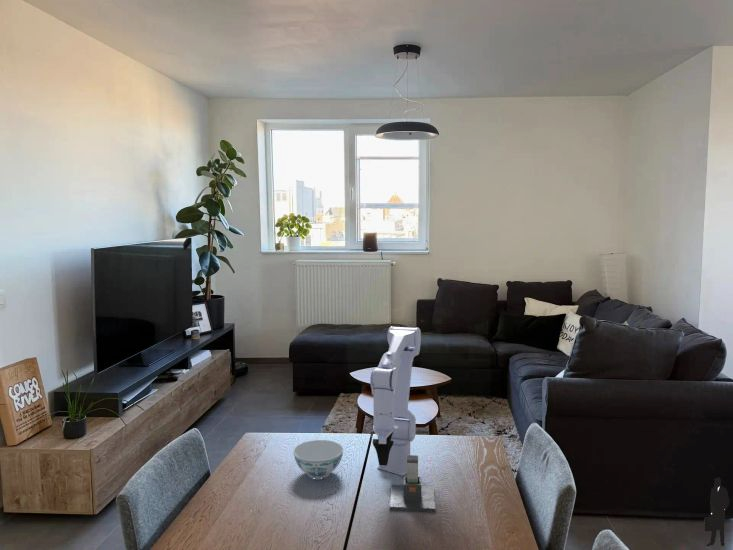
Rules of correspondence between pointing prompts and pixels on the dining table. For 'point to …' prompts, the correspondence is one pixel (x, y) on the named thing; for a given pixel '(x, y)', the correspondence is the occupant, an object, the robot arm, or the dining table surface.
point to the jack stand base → (412, 497)
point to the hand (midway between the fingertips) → (384, 458)
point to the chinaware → (318, 457)
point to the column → (412, 469)
